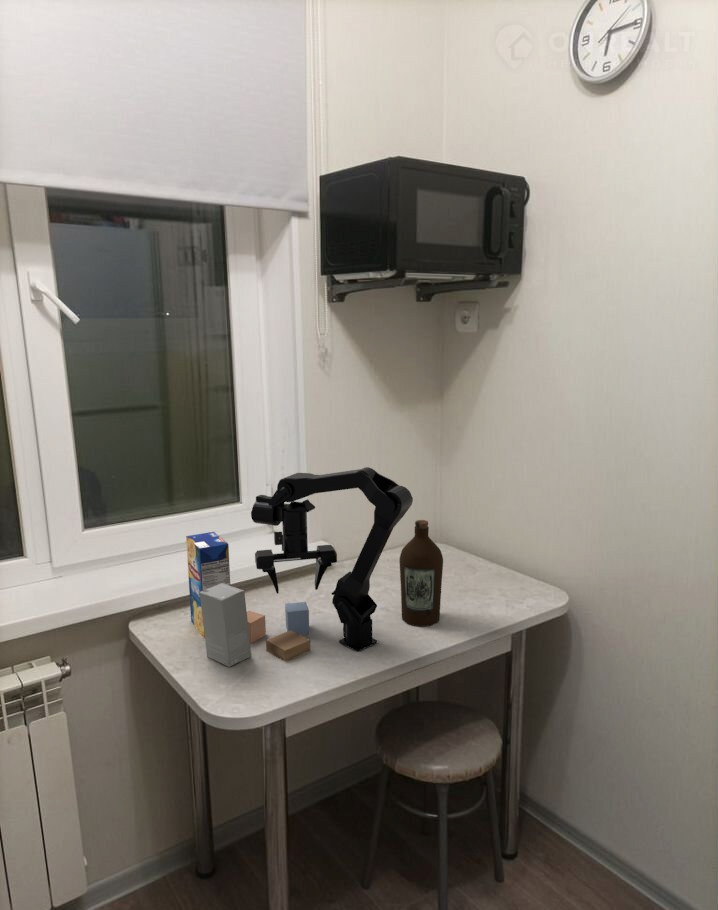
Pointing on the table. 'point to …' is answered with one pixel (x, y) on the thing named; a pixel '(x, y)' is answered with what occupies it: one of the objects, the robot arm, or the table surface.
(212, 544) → the beverage box
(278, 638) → the walnut slab
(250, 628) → the terracotta block
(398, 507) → the robot arm
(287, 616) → the slate block
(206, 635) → the skincare box
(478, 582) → the table surface
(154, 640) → the table surface
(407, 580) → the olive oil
